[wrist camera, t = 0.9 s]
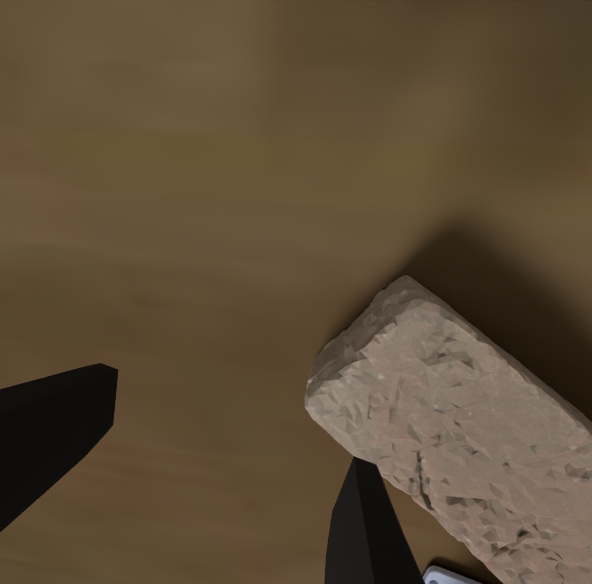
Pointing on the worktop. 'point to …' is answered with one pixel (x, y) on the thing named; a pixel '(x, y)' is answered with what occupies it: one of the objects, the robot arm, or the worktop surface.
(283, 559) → the worktop surface
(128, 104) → the worktop surface
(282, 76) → the worktop surface
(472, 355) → the brick
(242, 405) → the worktop surface
